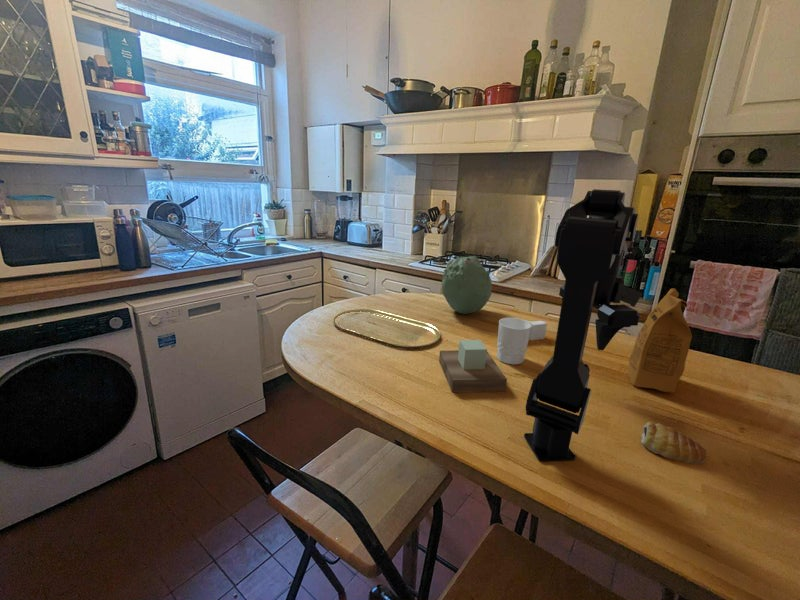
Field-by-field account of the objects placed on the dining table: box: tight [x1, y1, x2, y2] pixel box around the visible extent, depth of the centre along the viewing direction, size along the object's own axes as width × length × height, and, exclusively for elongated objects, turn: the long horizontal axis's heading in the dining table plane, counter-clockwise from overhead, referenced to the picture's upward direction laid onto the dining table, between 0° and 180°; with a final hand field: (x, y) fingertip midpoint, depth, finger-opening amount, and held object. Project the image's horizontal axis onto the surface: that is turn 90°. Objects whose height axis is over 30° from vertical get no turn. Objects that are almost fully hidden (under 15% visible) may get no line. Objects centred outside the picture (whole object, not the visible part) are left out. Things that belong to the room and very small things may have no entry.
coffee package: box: [627, 288, 693, 394], centre depth 85 cm, size 10×12×22 cm
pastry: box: [640, 421, 707, 465], centre depth 65 cm, size 9×7×4 cm
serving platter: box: [333, 308, 441, 350], centre depth 112 cm, size 19×35×2 cm, turn 58°
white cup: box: [496, 317, 532, 365], centre depth 95 cm, size 8×8×10 cm
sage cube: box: [458, 339, 488, 370], centre depth 86 cm, size 5×5×5 cm
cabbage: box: [441, 255, 492, 315], centre depth 125 cm, size 16×19×20 cm
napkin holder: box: [526, 320, 548, 341], centre depth 108 cm, size 15×11×6 cm
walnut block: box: [438, 349, 508, 393], centre depth 87 cm, size 14×12×3 cm
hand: (587, 340), depth 80 cm, fingers open, 9 cm apart
